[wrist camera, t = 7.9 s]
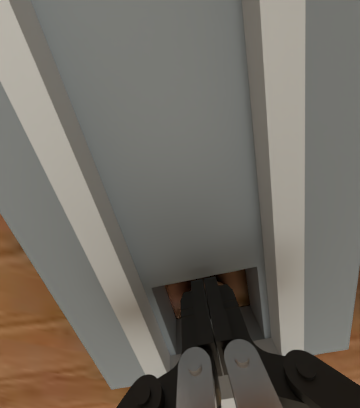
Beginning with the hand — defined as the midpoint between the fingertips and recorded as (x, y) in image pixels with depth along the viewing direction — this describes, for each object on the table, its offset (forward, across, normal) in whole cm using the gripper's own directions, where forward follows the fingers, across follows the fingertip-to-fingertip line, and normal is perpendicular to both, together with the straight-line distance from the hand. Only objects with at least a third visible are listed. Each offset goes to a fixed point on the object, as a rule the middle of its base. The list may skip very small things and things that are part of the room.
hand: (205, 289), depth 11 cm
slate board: (+4, 0, -4) cm, 5 cm away
